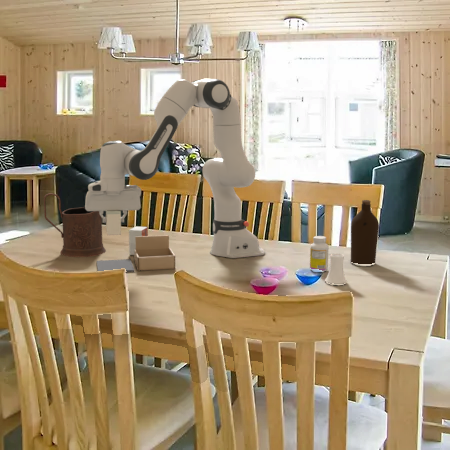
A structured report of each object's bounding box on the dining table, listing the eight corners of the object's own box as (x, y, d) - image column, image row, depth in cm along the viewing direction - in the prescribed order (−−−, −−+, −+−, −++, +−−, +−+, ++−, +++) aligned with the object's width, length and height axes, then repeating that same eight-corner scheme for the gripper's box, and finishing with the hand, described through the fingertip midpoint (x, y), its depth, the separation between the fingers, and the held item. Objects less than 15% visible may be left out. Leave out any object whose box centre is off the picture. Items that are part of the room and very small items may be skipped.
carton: (170, 259, 241) (170, 235, 239) (175, 268, 228) (175, 242, 226) (134, 261, 237) (134, 236, 235) (138, 270, 225) (137, 244, 223)
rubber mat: (130, 261, 239) (130, 259, 238) (134, 272, 223) (134, 269, 223) (96, 262, 236) (96, 260, 235) (98, 273, 220) (98, 271, 220)
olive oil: (381, 266, 235) (385, 202, 230) (357, 268, 232) (360, 203, 227) (367, 259, 245) (371, 198, 240) (344, 261, 242) (347, 199, 237)
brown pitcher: (109, 254, 248) (108, 194, 243) (48, 259, 239) (45, 197, 234) (101, 245, 265) (99, 188, 260) (44, 249, 256) (41, 190, 251)
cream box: (119, 231, 231) (119, 207, 229) (121, 234, 224) (120, 210, 222) (106, 231, 229) (105, 207, 228) (107, 235, 223) (106, 211, 221)
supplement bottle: (315, 267, 232) (316, 234, 230) (330, 270, 228) (332, 237, 226) (306, 270, 227) (307, 237, 225) (321, 274, 223) (323, 240, 221)
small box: (142, 256, 247) (141, 230, 245) (129, 255, 248) (128, 229, 246) (148, 251, 254) (148, 226, 252) (135, 250, 255) (135, 226, 253)
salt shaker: (347, 280, 215) (348, 253, 213) (346, 286, 208) (347, 258, 206) (326, 279, 217) (327, 251, 215) (323, 285, 210) (325, 257, 208)
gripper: (140, 183, 229) (140, 220, 231) (84, 184, 224) (85, 221, 226) (142, 186, 223) (142, 223, 225) (84, 186, 218) (85, 224, 220)
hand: (113, 222), depth 226 cm, fingers closed on cream box, 5 cm apart
